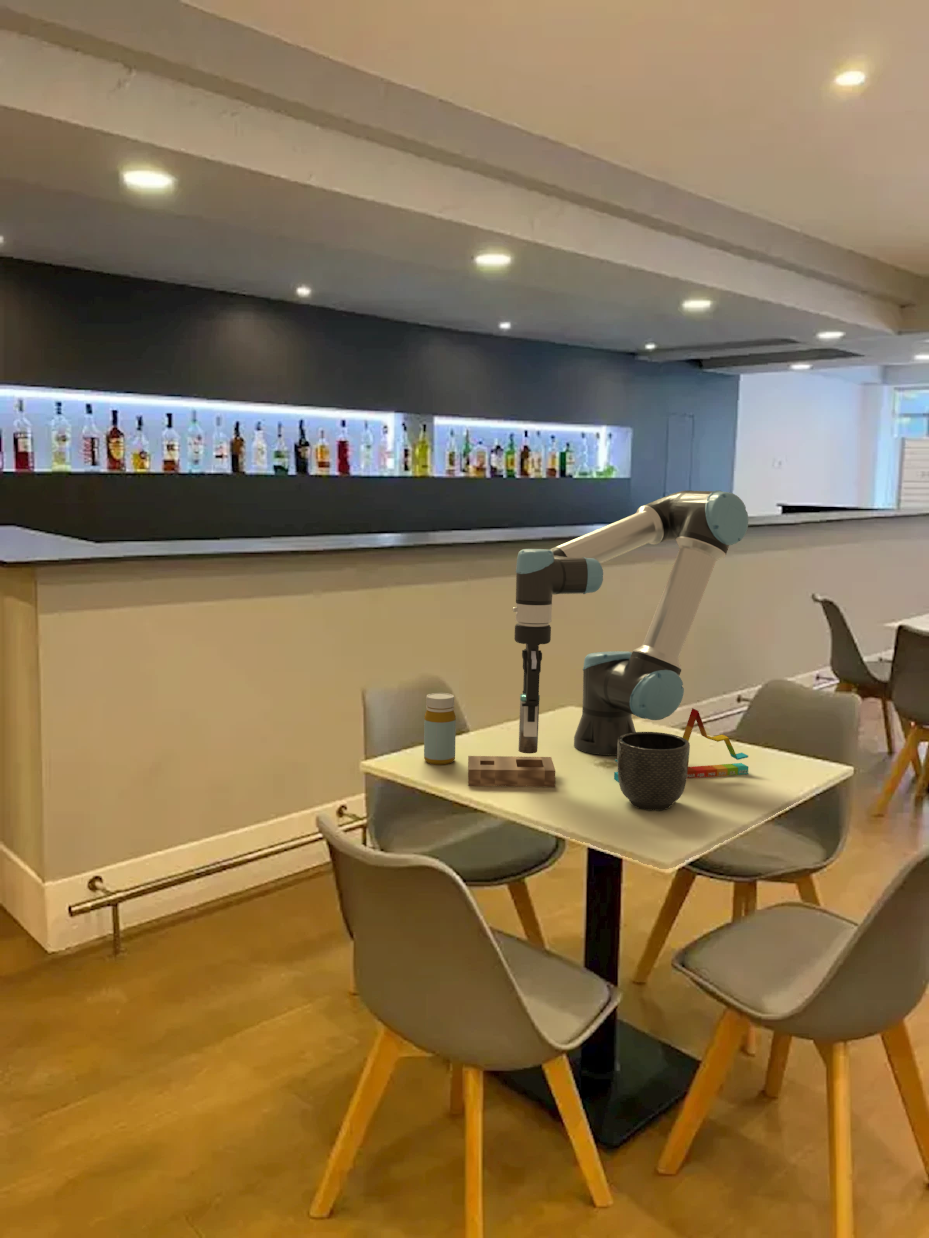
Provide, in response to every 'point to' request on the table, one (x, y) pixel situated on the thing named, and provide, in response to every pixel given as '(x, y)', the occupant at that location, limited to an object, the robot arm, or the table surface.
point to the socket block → (511, 771)
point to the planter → (652, 768)
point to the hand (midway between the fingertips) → (529, 733)
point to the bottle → (439, 729)
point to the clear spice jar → (524, 742)
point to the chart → (709, 770)
